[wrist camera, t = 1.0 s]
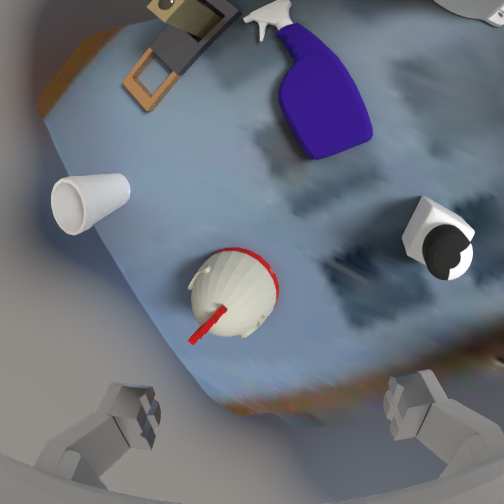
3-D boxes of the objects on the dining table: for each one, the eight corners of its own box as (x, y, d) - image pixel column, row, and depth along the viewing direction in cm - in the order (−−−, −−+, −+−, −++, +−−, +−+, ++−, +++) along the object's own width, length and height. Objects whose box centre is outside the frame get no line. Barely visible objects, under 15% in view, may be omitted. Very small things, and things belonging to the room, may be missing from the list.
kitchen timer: (189, 280, 59) (142, 323, 45) (233, 230, 52) (187, 267, 39) (244, 332, 59) (211, 386, 46) (295, 289, 52) (270, 345, 39)
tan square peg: (205, 5, 39) (167, -18, 29) (222, 19, 40) (187, -3, 30) (186, 24, 41) (145, 6, 32) (203, 39, 42) (163, 22, 32)
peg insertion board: (210, -12, 38) (206, -15, 36) (242, 13, 38) (239, 10, 37) (127, 83, 48) (122, 82, 47) (152, 111, 49) (146, 111, 47)
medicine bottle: (400, 237, 44) (410, 271, 33) (422, 194, 40) (441, 216, 30) (439, 258, 43) (457, 296, 32) (461, 217, 39) (488, 245, 29)
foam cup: (136, 166, 53) (84, 179, 42) (138, 215, 57) (89, 238, 46) (99, 164, 56) (48, 178, 45) (102, 210, 60) (54, 230, 48)
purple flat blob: (380, 136, 37) (297, -14, 33) (305, 166, 42) (230, 19, 37) (379, 136, 40) (301, -6, 35) (309, 164, 45) (238, 25, 40)
